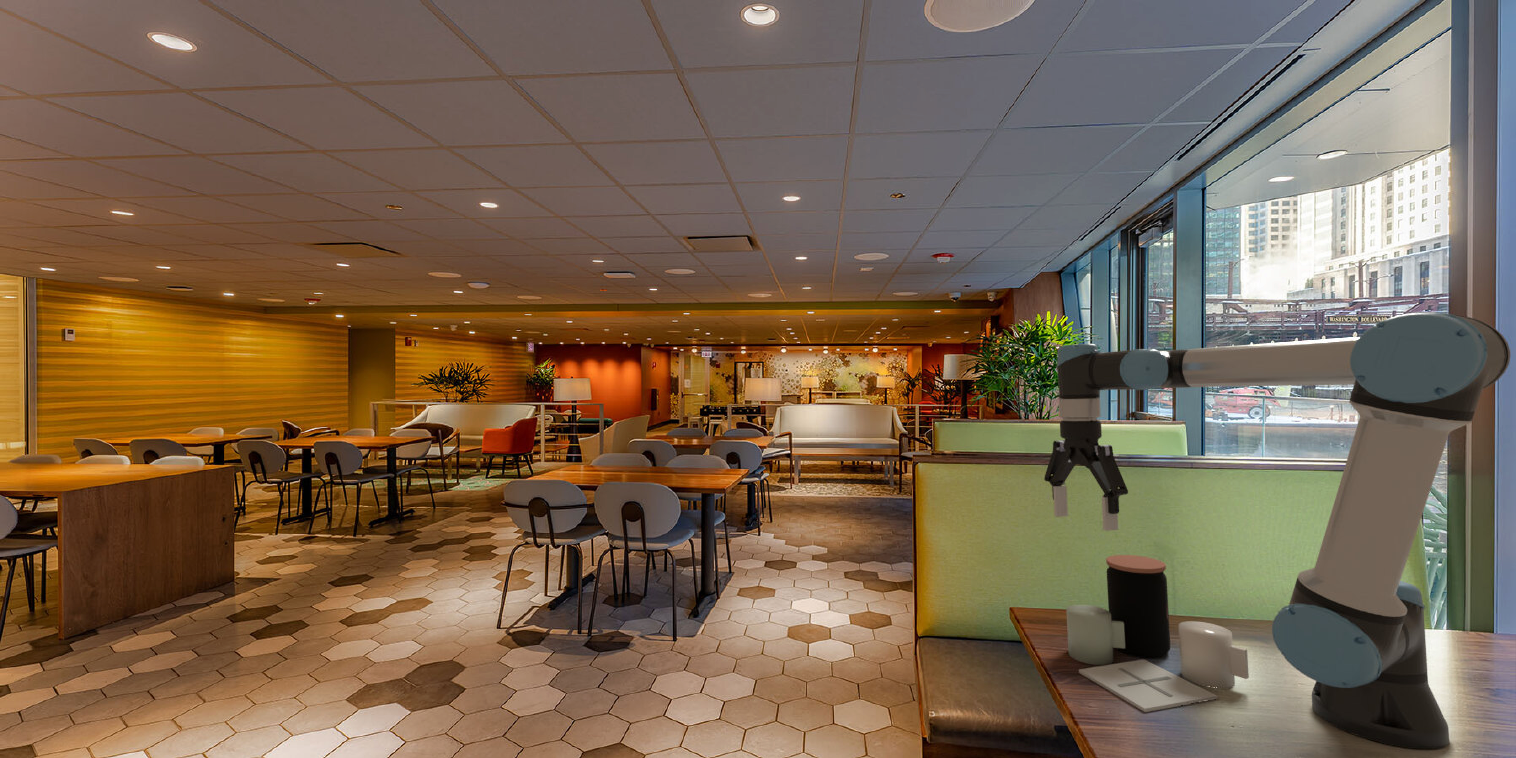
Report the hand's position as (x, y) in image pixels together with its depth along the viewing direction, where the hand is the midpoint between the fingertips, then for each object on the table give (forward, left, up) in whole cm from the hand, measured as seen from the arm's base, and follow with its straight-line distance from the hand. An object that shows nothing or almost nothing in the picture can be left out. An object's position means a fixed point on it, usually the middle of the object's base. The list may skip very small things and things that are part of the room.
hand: (1084, 522), depth 123 cm
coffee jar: (0, -12, -27) cm, 30 cm away
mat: (-13, 0, -27) cm, 30 cm away
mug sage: (-1, -1, -27) cm, 27 cm away
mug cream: (-15, -13, -27) cm, 34 cm away
